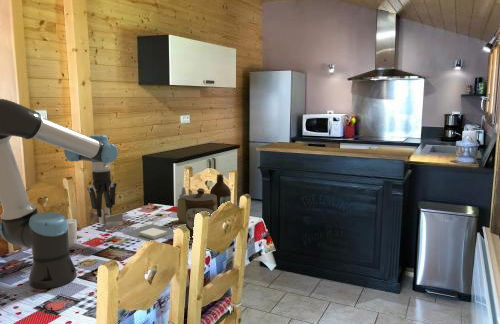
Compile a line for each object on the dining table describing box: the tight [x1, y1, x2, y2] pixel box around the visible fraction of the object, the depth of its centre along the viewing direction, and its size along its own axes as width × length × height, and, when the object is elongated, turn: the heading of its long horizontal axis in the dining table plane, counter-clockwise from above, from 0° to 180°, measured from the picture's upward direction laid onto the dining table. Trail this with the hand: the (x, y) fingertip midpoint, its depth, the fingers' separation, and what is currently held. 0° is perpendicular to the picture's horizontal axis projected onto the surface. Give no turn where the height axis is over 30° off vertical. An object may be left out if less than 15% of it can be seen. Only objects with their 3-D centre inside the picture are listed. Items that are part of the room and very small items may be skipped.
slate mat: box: [122, 223, 174, 242], centre depth 199 cm, size 18×20×1 cm
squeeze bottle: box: [176, 186, 190, 224], centre depth 216 cm, size 8×8×18 cm
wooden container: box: [185, 188, 217, 239], centre depth 195 cm, size 15×15×22 cm
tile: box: [139, 228, 167, 240], centre depth 195 cm, size 8×2×10 cm
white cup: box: [66, 218, 78, 246], centre depth 186 cm, size 8×8×10 cm
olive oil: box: [209, 173, 232, 209], centre depth 213 cm, size 11×11×25 cm
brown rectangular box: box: [89, 210, 124, 230], centre depth 186 cm, size 17×8×5 cm, turn 53°
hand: (104, 222), depth 186 cm, fingers closed on brown rectangular box, 2 cm apart
